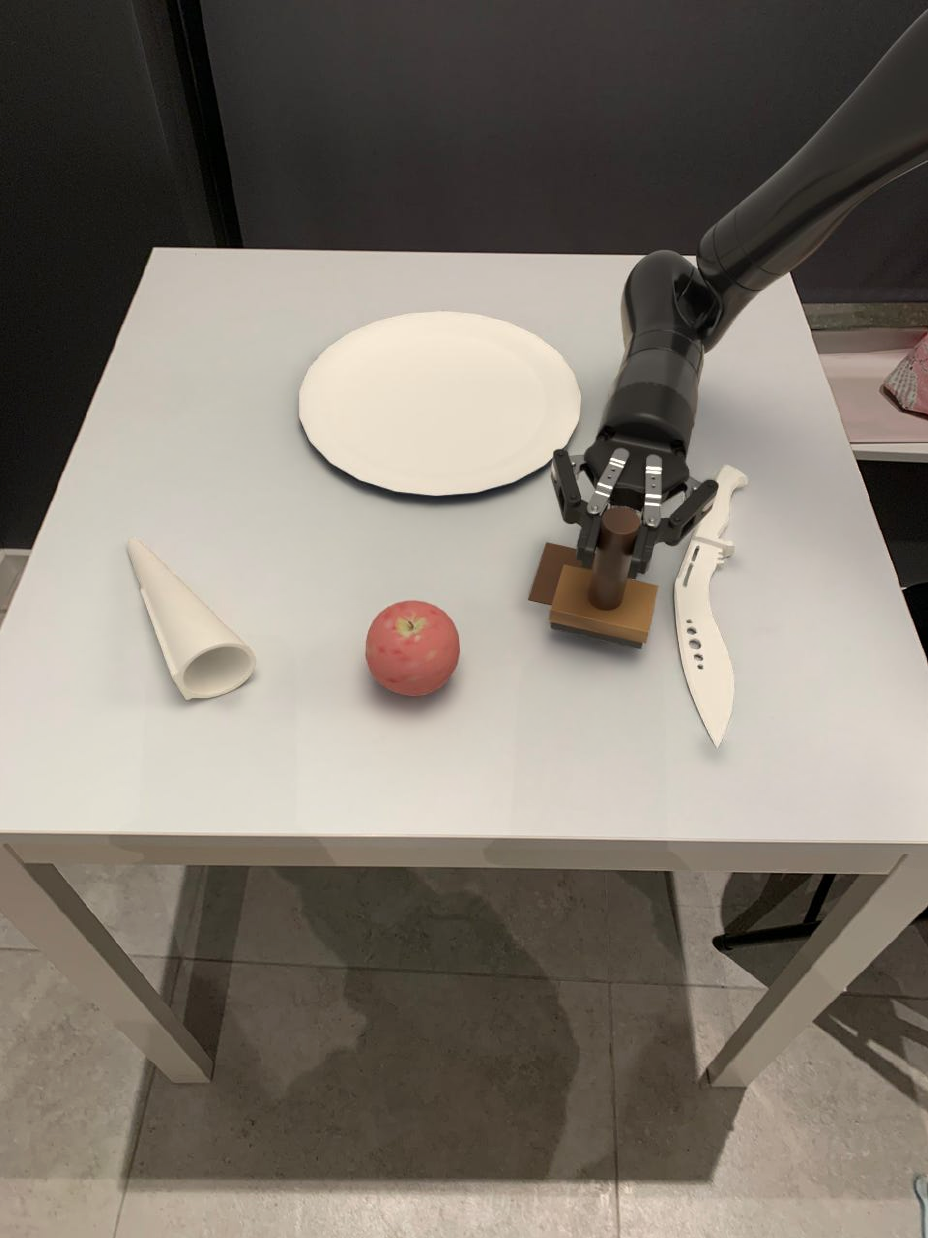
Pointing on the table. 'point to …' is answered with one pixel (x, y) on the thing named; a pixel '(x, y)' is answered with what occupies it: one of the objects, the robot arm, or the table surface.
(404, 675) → the apple
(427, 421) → the plate
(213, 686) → the long cone
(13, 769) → the table surface
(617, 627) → the wooden handled stamp
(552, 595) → the brown flat block
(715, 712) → the knife
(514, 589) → the table surface
